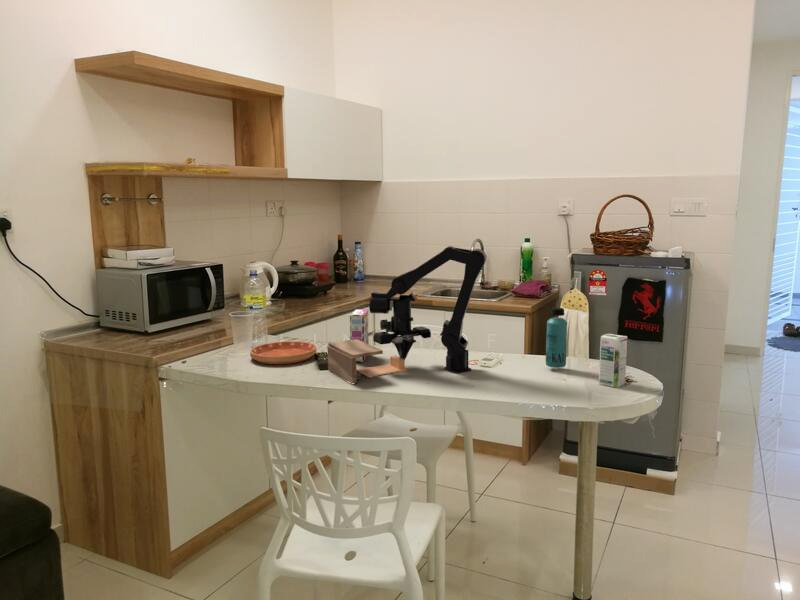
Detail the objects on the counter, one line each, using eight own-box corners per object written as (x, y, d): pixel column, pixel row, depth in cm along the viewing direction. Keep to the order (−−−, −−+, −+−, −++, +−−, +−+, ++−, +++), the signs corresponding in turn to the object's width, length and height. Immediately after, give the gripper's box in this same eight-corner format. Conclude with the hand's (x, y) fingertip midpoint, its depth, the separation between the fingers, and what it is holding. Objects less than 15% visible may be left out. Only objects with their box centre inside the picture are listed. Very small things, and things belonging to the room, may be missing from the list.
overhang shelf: (357, 365, 207) (356, 339, 206) (383, 378, 192) (382, 350, 191) (328, 370, 202) (327, 343, 201) (352, 384, 187) (351, 355, 185)
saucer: (237, 359, 219) (236, 349, 218) (289, 347, 236) (289, 337, 235) (277, 371, 204) (276, 360, 203) (330, 356, 220) (329, 346, 220)
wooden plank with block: (393, 366, 208) (393, 354, 208) (407, 373, 200) (406, 360, 200) (355, 373, 202) (355, 360, 201) (367, 380, 194) (367, 366, 193)
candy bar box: (365, 362, 211) (363, 315, 208) (350, 362, 212) (348, 315, 209) (369, 354, 222) (368, 309, 219) (355, 354, 222) (354, 308, 220)
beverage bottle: (548, 365, 203) (550, 305, 200) (569, 368, 200) (570, 307, 197) (542, 370, 198) (543, 308, 195) (563, 373, 195) (564, 310, 191)
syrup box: (597, 384, 183) (599, 335, 181) (607, 379, 187) (609, 332, 185) (616, 388, 179) (618, 338, 177) (625, 383, 183) (628, 335, 181)
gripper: (414, 307, 213) (414, 351, 216) (365, 313, 204) (366, 359, 207) (431, 312, 204) (432, 359, 206) (380, 318, 195) (381, 367, 197)
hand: (402, 360), depth 204 cm, fingers closed
